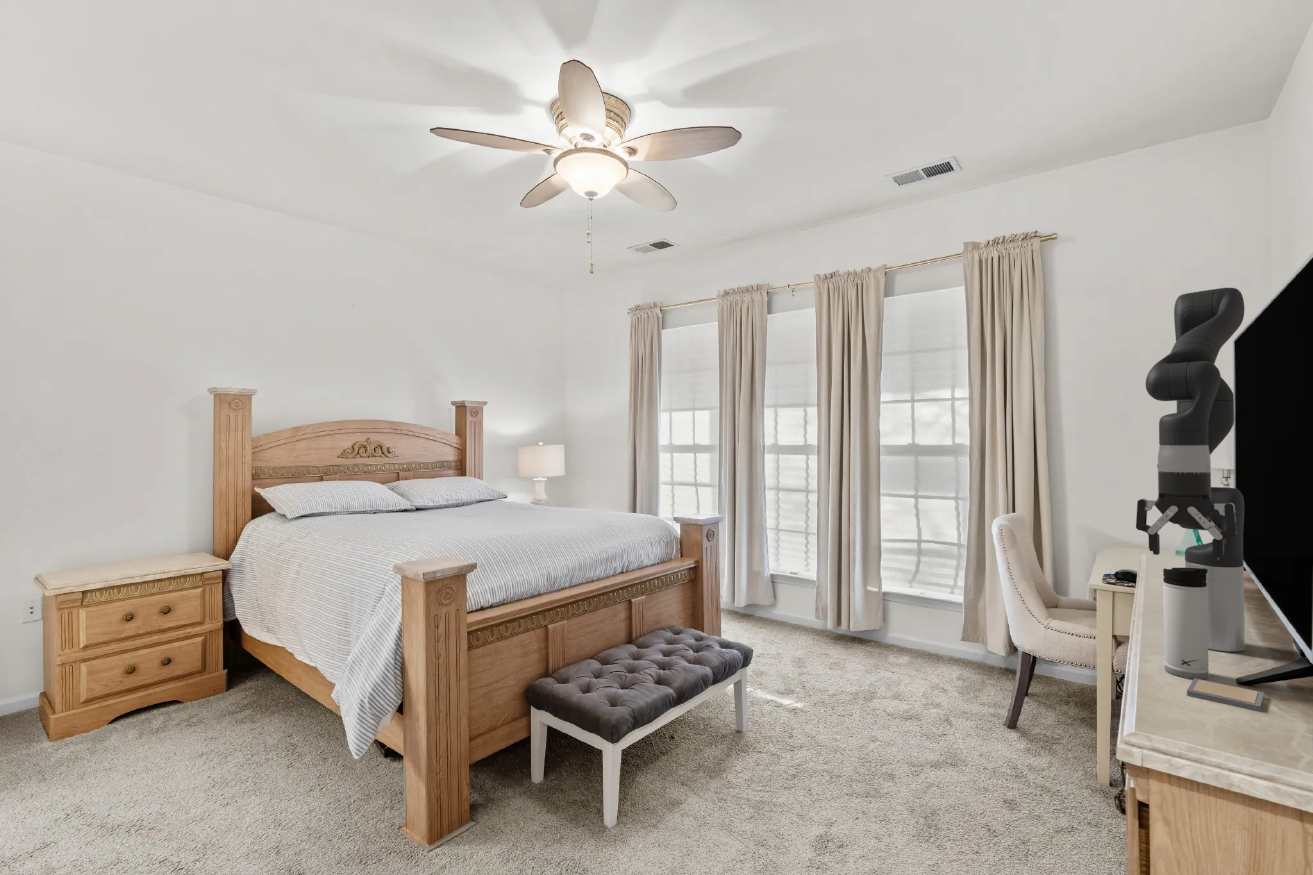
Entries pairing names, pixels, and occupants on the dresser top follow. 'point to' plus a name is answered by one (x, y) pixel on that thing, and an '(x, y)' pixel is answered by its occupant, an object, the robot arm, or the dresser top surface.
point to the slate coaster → (1226, 694)
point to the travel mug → (1185, 622)
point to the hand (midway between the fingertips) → (1185, 556)
